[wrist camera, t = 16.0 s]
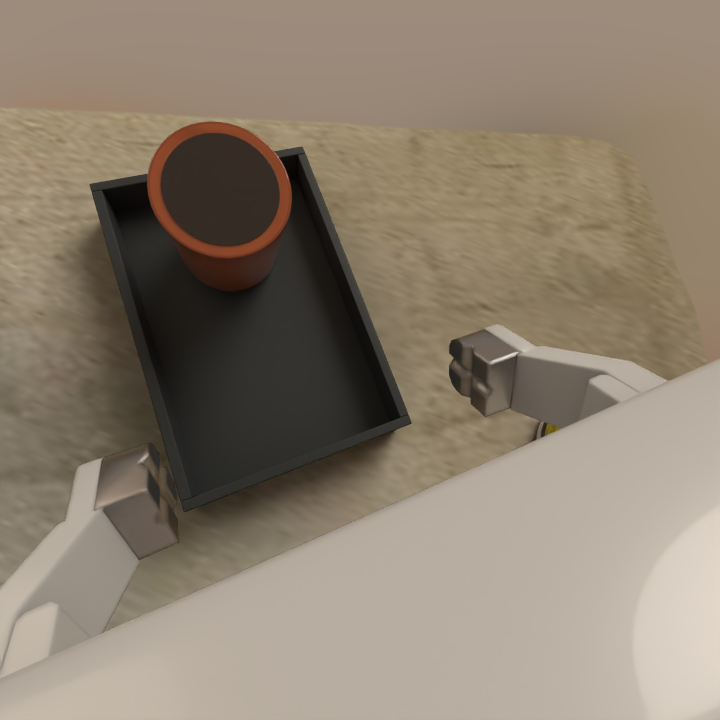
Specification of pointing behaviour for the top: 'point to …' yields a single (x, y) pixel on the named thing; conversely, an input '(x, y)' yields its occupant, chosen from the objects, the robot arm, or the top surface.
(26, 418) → the top surface
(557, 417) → the robot arm
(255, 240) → the plant pot
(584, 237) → the top surface
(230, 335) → the plant tray
